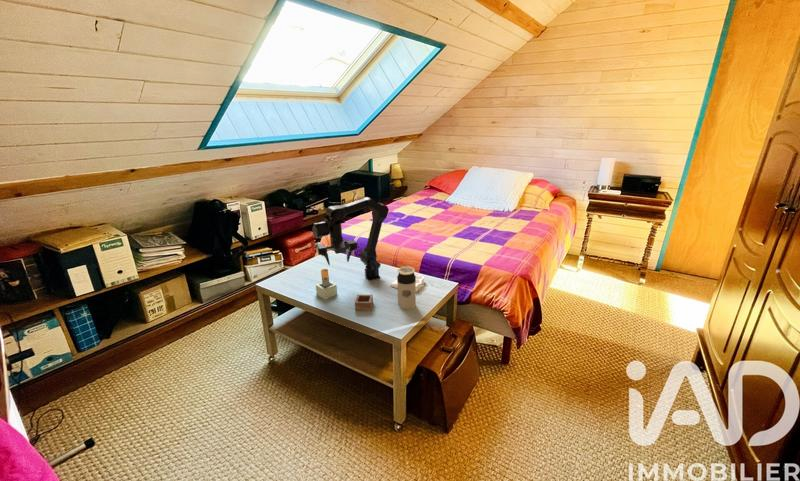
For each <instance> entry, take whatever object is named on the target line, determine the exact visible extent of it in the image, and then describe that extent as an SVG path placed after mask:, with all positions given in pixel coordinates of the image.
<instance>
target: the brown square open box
mask: <svg viewBox="0 0 800 481" xmlns="http://www.w3.org/2000/svg"><path fill="white" fill-rule="evenodd" d="M373 296H374V295H373V294H356V297H355V300H354V311H355V312H372V309H373V305H374V297H373Z"/></svg>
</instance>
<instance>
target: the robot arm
mask: <svg viewBox="0 0 800 481" xmlns="http://www.w3.org/2000/svg"><path fill="white" fill-rule="evenodd" d="M366 208H370V209H371V215H372V216H371V217H372V223H371V227H370V231H369V234H368V239H367V243H366V246H365V248H364V249H363V248H362V249H361V251H360V254H359V257H360V258H359V259H360V261H361V262H362V264H363V265H365V266H364V267H365V268H364V277H365V278H366V279H367V280H368V281H371V280H376V279H380V278H381V276H380V272H379V271H380V268H381V263H380V261H378V260H377V250H376V248H377V245H378V241H379V237H380V234H381V229H382V225H383V222H384V221H385V220H386V219H387V217H388V215H389V210H390V208H389V207H388V206H387V205H386V204H383V203H381V202H378V201H375V200H374V199H373V198H371V197H368V196H365V197H363V198H360V199H358V200H355V201H351V202H349V203H346V204H340V205H339V204H337V205H330V206H328V207H327V209H326V210H325V214H324V215H323V218H322V219H321V221H320V222H314V223H313V226H312V229H311V231H312V234H313V237H314V238H315V239H318V238H322V237H323V238H324V237H327V236H329V240H330V245H327V246H326V244H319V245H316V247H315V249H316V252H317V254H318V255H319V256H321V257H324V258H325V261H326V262H327V264H328V266H330V264H331V263H330V258H329V254H328V253H329V252H328V251H333V250H334V253H335V254H341V253H343V254H344V253H346V262H347V263H349V261H350V258H351V255H352V253H353V252H354V251H356V250H357V249H358V248H359V247H358V243H357V241H355V240H354V239H350V240H349V239H348V240H346V241H344V239H343V238H344V237H343V230H342V225H343V224H346V221H345V220H344V218H345V217H346V216H347V215H349V214H351V213H354V212H357V211H360V210H363V209H366Z"/></svg>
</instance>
